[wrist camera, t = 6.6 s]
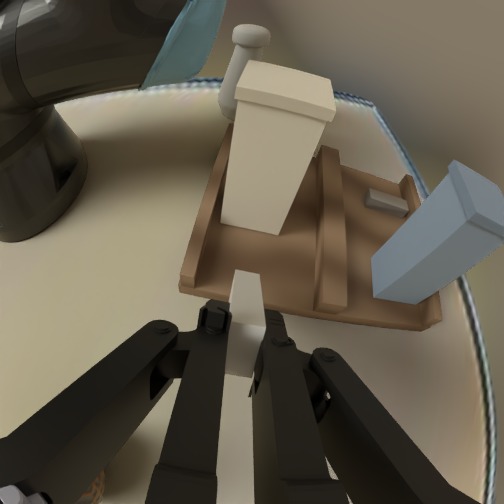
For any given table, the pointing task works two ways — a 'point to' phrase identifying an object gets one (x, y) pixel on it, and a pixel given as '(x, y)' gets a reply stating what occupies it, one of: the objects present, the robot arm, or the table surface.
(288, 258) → the wooden divided tray
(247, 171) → the cream tall block
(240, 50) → the salt shaker
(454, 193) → the blue-grey rectangular block
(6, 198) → the robot arm
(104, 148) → the table surface
